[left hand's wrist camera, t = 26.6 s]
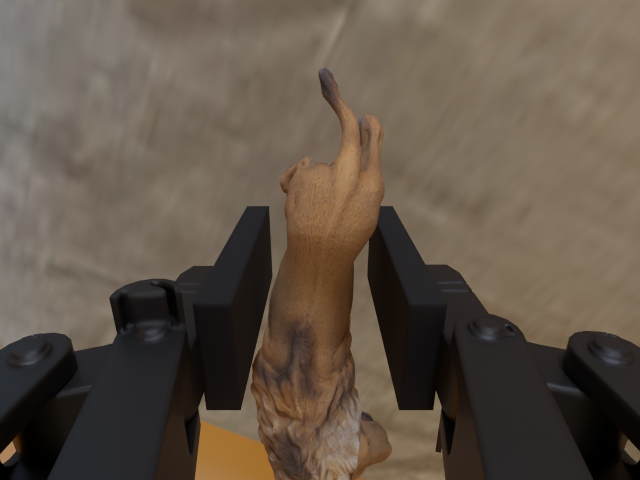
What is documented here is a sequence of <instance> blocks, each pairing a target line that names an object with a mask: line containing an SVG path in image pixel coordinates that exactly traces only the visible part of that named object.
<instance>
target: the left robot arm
mask: <svg viewBox="0 0 640 480" xmlns="http://www.w3.org/2000/svg"><path fill="white" fill-rule="evenodd" d="M367 277H368V281H369V285H370V289H371V294H372V298H373V302H374V306H375V310H376V315H377V319H378V323H379V327H380V331H381V336H382V340H383V344H384V348H385V352H386V357H387V361H388V365H389V369H390V373H391V378H392V382H393V386H394V390H395V394H396V399H397V403H398V407H399V410H433V407H434V400H435V392H437V395H438V397H439V400H440V403H441V405H442V410H441V417H440V424H439V431H438V438H437V445H436V452H441V449H442V453H443V461H444V470H445V479H446V480H640V460H639V461H638V463H637V462H636V461H635V460H633V459H632V458H631V457H630V456H629V455H628V454H627V452H626V451H625V450H624V448H625V445H626V443H627V440H628V439H629V440H630V441H631V442H632V443H633V444H634V445H635V447H636V448H637V449H638V450H639V451H640V348H639V347H638V346H636V345H635V344H633V343H631V342H629V341H627V340H624V339H622V338H620V337H618V336H616V335H613V334H607V333H605V332H594V331H583V332H577V333H574V334H573V335H572V336H571V337H569V341H568V344H567V348H566V350H565V349H560V348H554V347H549V346H544V345H538V344H534V343H530V342H527V341H526V339H525V337H524V335H523V333H522V332H521V331H520V329H519V328H518V327H517V326H516V325H514V324H513V323H511V322H510V321H508V320H507V319H504V318H501V317H499V316H496V315H492V314H488V312H487V311H486V309H485V308H484V307H483V305H482V304H481V302H480V301H479V300H478V298H477V297H476V295H475V294H474V293H473V292H472V290H471V288H470V287H469V286H468V284H466V281H465V280H464V279H463V277H462V276H461V274H460V273H459V272H457V271H456V270H454V269H452V268H451V267H449V266H448V265H425V263H424V261H423V260H422V258H421V256H420V254H419V253H418V251H417V249H416V247H415V245H414V244H413V242H412V240H411V238H410V237H409V235H408V233H407V231H406V229H405V228H404V226H403V224H402V222H401V221H400V219H399V217H398V215H397V213H396V212H395V210H394V208H393V206H380V210H379V217H378V222H377V226H376V228H375V231H374V233H373V235H372V236H371V238H370V239H369V254H368V274H367ZM271 280H272V259H271V239H270V218H269V206H247V208H246V209H245V211H244V213H243V215H242V216H241V218H240V220H239V222H238V224H237V225H236V227H235V229H234V231H233V232H232V234H231V236H230V238H229V240H228V241H227V243H226V245H225V247H224V248H223V250H222V252H221V254H220V256H219V257H218V259H217V261H216V263H215V264H214V266H193V267H191V268H190V269H188V270H186V271H185V272H183V273H182V274H180V276H179V277H178V278H177V280H176V281H172V280H167V279H148V280H142V281H137V282H134V283H131V284H128V285H126V286H124V287H122V288H120V289H118V290H116V291H115V292H114V293H113V294H112V295H111V296H110V297H109V298H110V303H111V308H112V312H113V317H114V321H115V326H116V330H117V336H116V338H115V340H114V342H113V344H109V345H105V346H100V347H95V348H90V349H85V350H79V351H74V349H73V346H72V342H71V339H70V338H68V337H67V336H66V335H64V334H58V333H45V334H35V335H33V336H27V337H24V338H22V339H21V340H18V341H16V342H13V343H11V344H9V345H7V346H6V347H4V348H2V349H1V350H0V454H1V452H2V451H3V450H4V449H5V448H6V447H7V446H8V445H9V444H10V443H11V442H12V441H13V443H14V446H15V449H16V452H15V453H14V454H13V456H12V457H11V458H10V459H9V460H8V461H6V462H5V463H4V464H2V463H1V461H0V480H195V471H196V462H197V453H198V444H199V436H200V427H201V424H200V417H199V410H198V407H199V404H200V401H201V399H202V396H203V393H204V394H205V402H206V409H207V410H241V406H242V402H243V398H244V393H245V389H246V385H247V381H248V376H249V372H250V368H251V364H252V360H253V355H254V351H255V347H256V343H257V339H258V334H259V330H260V326H261V322H262V318H263V313H264V309H265V305H266V301H267V297H268V292H269V288H270V284H271Z"/></svg>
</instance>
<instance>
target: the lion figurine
mask: <svg viewBox="0 0 640 480" xmlns="http://www.w3.org/2000/svg"><path fill="white" fill-rule="evenodd" d="M319 78H320V83H321V89H322V94H323V97H324V98H325V99H326V100H327V102H328V103H329V104H330V105H331V107H332V108H333V110H334V111H335V113H336V114H337V116H338V118H339V120H340V124H341V127H342V135H343V136H342V142H341V147H340V152H339V155H338V157H337V158H336V159H335V160H334V161H333V163H332V164H331V165H328V164H324V163H315V164H313V160H312V159H311V158H309V157H305V158H303V159H301V161H300V162H298V163H297V164H296V165H294V166H292V167H290V168H289V169H288V170H287V171H286V172H285V173H284V174H283V176H282V177H281V180H280V185H281V188H282V190H283V192H285V193H287V201H286V204H285V216H286V219H287V241H288V243H287V250H286V253H285V255H284V257H283V259H282V262H281V265H280V268H279V271H278V274H277V278H276V281H275V284H274V287H273V290H272V293H271V298H270V304H269V315H268V323H267V328H266V330H265V333H264V337H263V345H262V347H261V348H260V350H259V351H258V353H257V355H256V357H255V360H254V362H253V364H252V370H253V372H252V380H253V383H252V384H251V392H252V394H253V396H254V398H255V400H256V404H257V420H258V422H259V424H260V425H259V429H258V433H259V437H260V440H261V442H262V444H263V445H264V446H265V450H266V452H267V454H268V460H269V462H270V464H271V466H272V469H273V471H274V476H275V479H276V480H356V479H357V478H358V477H359V476H360V475H361V474H362V472H363V471H364V469H365V468H366V467H368V466H371V465H373V464H375V463H379V462H382V461H385V460H386V459H387V458H388V457H389V456H390V454H391V452H392V447H391V445H390V443H389V442H388V438H387V434H386V431H385V430H384V428H383V427H382V426H381V425H380V424H379V423H378V422H376V421H373V419H372V417H371V415H370V414H369V413H367V412H363V411H362V405H361V403H360V401H359V399H358V391H357V389H356V388H355V366H354V359H353V357H352V354H351V351H350V346H351V342H352V336H351V333H350V313H351V308H352V301H353V281H354V266H353V262H354V260H355V259H356V257H357V256H358V254H359V253H360V251H361V250H362V249H363V247H364V246H365V244H366V243H367V242H368V240H369V239H370V238H371V236H372V235H373V233H374V231H375V228H376V226H377V222H378V217H379V210H380V205H381V201H382V199H383V197H384V182H383V178H382V173H381V160H380V156H381V143H382V139H383V136H384V134H383V128H382V126H381V124H380V122H379V120H378V118H377V117H375V116H372V115H363V116H362V117H361V118H360V119H359V120H358V122H357V119H356V117H355V115H354V113H353V112H352V111H351V109H350V108H349V107H348V106H347V104H346V103H345V102H344V100H343V99H342V98H341V97H340V95H339V93H338V86H337V82H336V81H335V80H334V78H333V74H332V73H331V72H330V70H328V69H327V68H321V69H320V70H319ZM360 145H361V146H362V158H361V150H360Z"/></svg>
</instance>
